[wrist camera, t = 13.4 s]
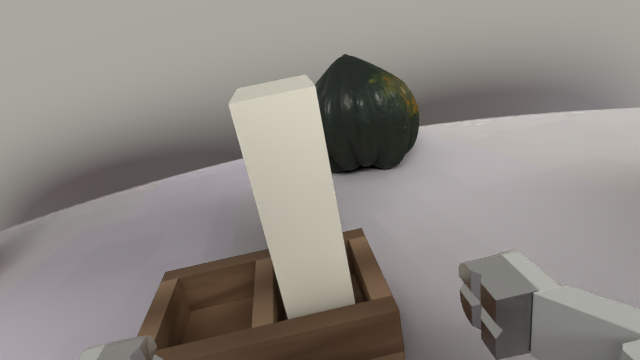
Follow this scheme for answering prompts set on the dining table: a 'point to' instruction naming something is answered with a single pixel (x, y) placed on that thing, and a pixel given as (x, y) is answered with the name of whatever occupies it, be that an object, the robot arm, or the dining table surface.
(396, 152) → the squash
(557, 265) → the dining table surface
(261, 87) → the cream rectangular block
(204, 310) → the walnut rack
